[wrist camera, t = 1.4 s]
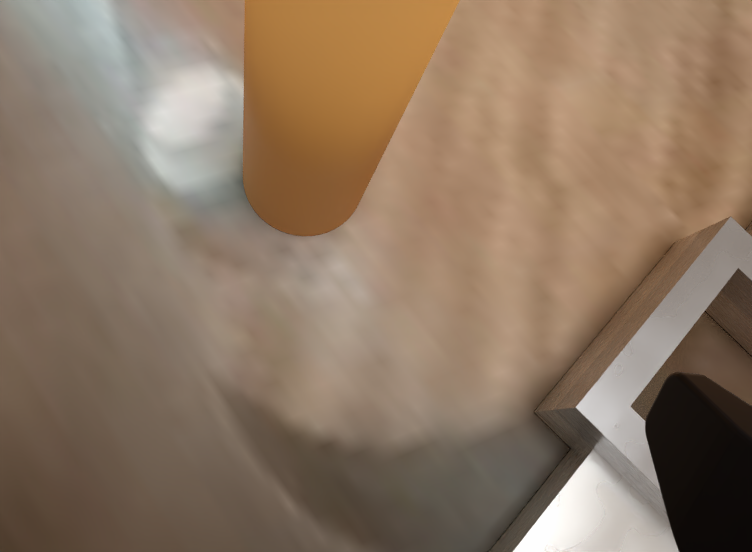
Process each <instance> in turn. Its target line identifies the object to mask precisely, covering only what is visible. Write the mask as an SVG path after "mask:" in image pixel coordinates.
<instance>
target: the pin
mask: <svg viewBox="0 0 752 552" xmlns="http://www.w3.org/2000/svg"><path fill="white" fill-rule="evenodd" d="M458 2H459V0H245V33H244V120H243V184H244V190H245V193H246V196H247V199H248V201H249V203H250V205H251V206H252V208H253V209H254V211H255V212H256V213H257V214H258V215H259V216H260V218H262V219H263V220H264V221H265V222H266V223H268V224H269V225H271V226H272V227H274V228H276V229H278V230H280V231H282V232H285V233H288V234H292V235H298V236H314V235H320V234H323V233H327V232H329V231H331V230H334V229H335V228H337V227H339V226H340V225H342V224H343V223H344V222H345V221H347V220H348V218H349V217H350V216H351V215H352V214H353V212H354V211H355V209H356V208H357V206H358V204H359V202H360V200H361V198H362V196H363V194H364V192H365V190H366V188H367V186H368V184H369V182H370V180H371V178H372V176H373V174H374V172H375V170H376V168H377V165H378V163H379V161H380V159H381V157H382V155H383V153H384V151H385V149H386V147H387V145H388V143H389V141H390V139H391V137H392V135H393V133H394V131H395V129H396V127H397V125H398V123H399V121H400V119H401V117H402V115H403V113H404V111H405V109H406V107H407V105H408V103H409V101H410V99H411V97H412V95H413V93H414V91H415V89H416V87H417V85H418V83H419V81H420V79H421V77H422V75H423V73H424V71H425V69H426V67H427V65H428V63H429V61H430V59H431V57H432V55H433V53H434V51H435V49H436V47H437V45H438V43H439V41H440V39H441V37H442V35H443V33H444V31H445V29H446V27H447V25H448V23H449V21H450V19H451V17H452V15H453V12H454V10H455V8H456V6H457V4H458Z"/></svg>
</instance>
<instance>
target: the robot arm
mask: <svg viewBox="0 0 752 552" xmlns="http://www.w3.org/2000/svg"><path fill="white" fill-rule="evenodd" d="M645 433H646V438H647V442H648V446H649V449H650V453H651V457H652V461H653V464H654V468H655V472H656V475H657V479H658V483H659V487H660V490H661V494H662V498H663V502H664V505H665V509H666V513H667V517H668V520H669V523H670V527H671V530H672V533H673V537H674V539H675V542H676V545H677V548H678V551H679V552H752V406H751V405H749V404H748V403H746V402H744V401H743V400H741V399H740V398H738V397H737V396H735V395H734V394H732V393H731V392H729V391H727V390H726V389H724V388H723V387H721V386H720V385H718V384H717V383H715V382H714V381H712V380H711V379H709V378H707V377H706V376H704V375H700V374H693V373H684V372H674V373H672V374H670V375H669V376H668V377H667V378H666V380H665V381H664V383H663V385H662V387H661V389H660V391H659V393H658V395H657V397H656V399H655V401H654V403H653V405H652V407H651V409H650V411H649V413H648V415H647V417H646V422H645Z"/></svg>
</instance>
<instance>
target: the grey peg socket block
mask: <svg viewBox="0 0 752 552" xmlns="http://www.w3.org/2000/svg"><path fill="white" fill-rule="evenodd" d="M704 311H706V312H707V313H708V314H709V315H710V316H711V317H712V318H713V319H714V320H715V321H716V322H717V323H718V324H719V325H720V326H721V327H722V328H723V329H724V330H725V331H727V332H728V333H729V334H730V335H731V336H732V337H733V338H734V339H735V340H736V341H737V342H738V343H739V344H740V345H741V346H742V347H743V348H744V349H745V350H746V351H747V352H748V353H749V354H750V355H751V356H752V222H751V224H750V225H749V226H748V227H747V229H746V230H744V229H743V228H742V227H741V226H740V225H739V224H738V223H737V222H736V221H735V220H734V219H733V218H732V217H729V218H727V219H724V220H722V221H720V222H718V223H716V224H714V225H711V226H709V227H707V228H705V229H703V230H701V231H698V232H696V233H694V234H692V235H690V236H688V237H685V238H683V239H681V240H679V241H677V242H675V243H674V244H673V246H672V247H671V248H670V249H669V250H668V252H667V253H666V254H665V255H664V256H663V258H662V259H661V260H660V261H659V262H658V264H657V265H656V266H655V267H654V268H653V270H652V271H651V272H650V273H649V274H648V276H647V277H646V278H645V279H644V280H643V282H642V283H641V284H640V285H639V286H638V288H637V289H636V290H635V291H634V292H633V294H632V295H631V296H630V297H629V298H628V300H627V301H626V302H625V303H624V304H623V306H622V307H621V308H620V309H619V310H618V312H617V313H616V314H615V315H614V316H613V318H612V319H611V320H610V321H609V322H608V324H607V325H606V326H605V327H604V328H603V330H602V331H601V332H600V333H599V334H598V336H597V337H596V338H595V339H594V340H593V342H592V343H591V344H590V345H589V346H588V348H587V349H586V350H585V351H584V352H583V354H582V355H581V356H580V357H579V358H578V360H577V361H576V362H575V363H574V364H573V366H572V367H571V368H570V369H569V370H568V372H567V373H566V374H565V375H564V376H563V378H562V379H561V380H560V381H559V382H558V384H557V385H556V386H555V387H554V388H553V390H552V391H551V392H550V393H549V394H548V396H547V397H546V398H545V399H544V400H543V402H542V403H541V404H540V405H539V406H538V408H537V409H536V410H535V411H534V412H535V413H536V414H537V415H538V416H539V417H540V418H541V419H542V420H543V421H544V422H545V423H546V424H547V425H548V426H549V427H550V428H551V429H552V430H553V431H554V432H555V433H556V434H557V435H558V436H559V437H560V438H561V439H562V440H563V441H564V442H565V443H566V444H567V445H568V446H569V447H570V448H571V450H570V451H569V452H568V453H567V455H566V456H565V457H564V458H563V460H562V461H561V462H560V463H559V465H558V466H557V467H556V468H555V470H554V471H553V472H552V474H551V475H550V476H549V477H548V479H547V480H546V481H545V482H544V484H543V485H542V486H541V487H540V489H539V490H538V491H537V492H536V494H535V495H534V496H533V497H532V499H531V500H530V501H529V502H528V504H527V505H526V506H525V507H524V509H523V510H522V511H521V512H520V514H519V515H518V516H517V517H516V519H515V520H514V521H513V522H512V524H511V525H510V526H509V528H508V529H507V530H506V531H505V533H504V534H503V535H502V536H501V538H500V539H499V540H498V541H497V543H496V544H495V545H494V546H493V548H492V549H491V550H490V551H489V552H679V551H678V548H677V545H676V542H675V539H674V537H673V533H672V530H671V527H670V523H669V520H668V517H667V513H666V509H665V505H664V502H663V498H662V494H661V490H660V487H659V483H658V479H657V475H656V472H655V468H654V464H653V461H652V457H651V453H650V449H649V446H648V442H647V438H646V433H645V421H644V420H643V419H642V418H641V417H640V416H639V415H638V414H637V413H636V412H635V411H634V410H633V409H632V408H631V407H630V406H631V404H632V403H633V402H634V401H635V399H636V398H637V397H638V396H639V394H640V393H641V392H642V390H643V389H644V388H645V387H646V385H647V384H648V383H649V381H650V380H651V379H652V378H653V376H654V375H655V374H656V372H657V371H658V370H659V369H660V367H661V366H662V365H663V364H664V362H665V361H666V360H667V358H668V357H669V356H670V355H671V353H672V352H673V351H674V349H675V348H676V347H677V346H678V344H679V343H680V342H681V341H682V339H683V338H684V337H685V335H686V334H687V333H688V332H689V330H690V329H691V328H692V326H693V325H694V324H695V323H696V321H697V320H698V319H699V317H700V316H701V315H702V314H703V312H704Z"/></svg>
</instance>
